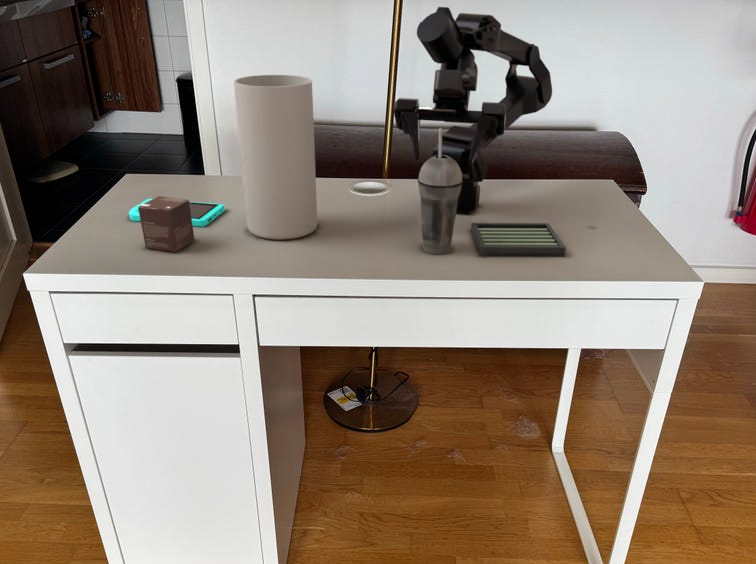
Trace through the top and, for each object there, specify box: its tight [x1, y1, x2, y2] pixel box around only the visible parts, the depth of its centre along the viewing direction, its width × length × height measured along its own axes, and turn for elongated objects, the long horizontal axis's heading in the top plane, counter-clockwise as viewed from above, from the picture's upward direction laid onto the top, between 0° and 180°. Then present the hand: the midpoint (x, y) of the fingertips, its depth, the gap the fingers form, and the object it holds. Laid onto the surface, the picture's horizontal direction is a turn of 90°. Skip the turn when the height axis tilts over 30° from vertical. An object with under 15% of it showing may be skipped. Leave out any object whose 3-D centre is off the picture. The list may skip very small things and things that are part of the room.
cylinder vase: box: [233, 74, 318, 241], centre depth 117 cm, size 12×12×25 cm
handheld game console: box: [128, 198, 226, 228], centre depth 129 cm, size 10×16×1 cm, turn 78°
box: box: [138, 195, 196, 253], centre depth 114 cm, size 6×6×7 cm
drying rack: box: [470, 222, 567, 257], centre depth 118 cm, size 14×12×2 cm
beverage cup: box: [417, 127, 463, 255], centre depth 111 cm, size 7×7×20 cm
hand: (443, 160), depth 115 cm, fingers open, 9 cm apart
